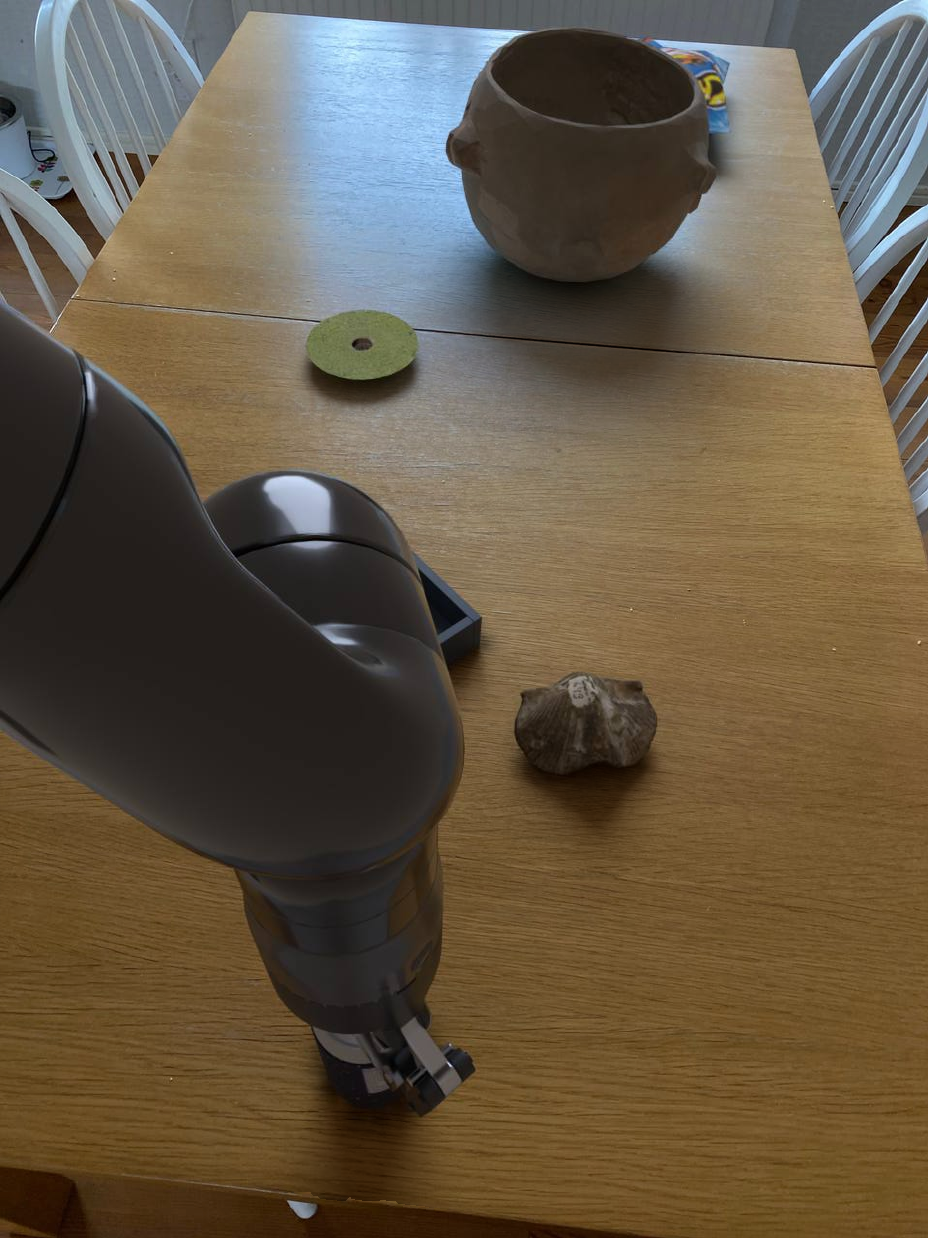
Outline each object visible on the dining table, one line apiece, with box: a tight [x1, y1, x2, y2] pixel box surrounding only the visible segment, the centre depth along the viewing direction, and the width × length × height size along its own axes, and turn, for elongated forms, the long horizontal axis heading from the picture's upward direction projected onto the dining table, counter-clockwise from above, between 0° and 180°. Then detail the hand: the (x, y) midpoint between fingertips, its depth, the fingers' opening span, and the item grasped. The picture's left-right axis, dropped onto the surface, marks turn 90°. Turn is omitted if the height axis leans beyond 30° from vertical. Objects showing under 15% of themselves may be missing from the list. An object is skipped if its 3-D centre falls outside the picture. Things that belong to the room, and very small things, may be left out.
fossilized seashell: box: [513, 671, 658, 776], centre depth 69 cm, size 8×7×10 cm
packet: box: [637, 35, 731, 135], centre depth 128 cm, size 17×24×8 cm
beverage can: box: [310, 1025, 405, 1109], centre depth 52 cm, size 6×6×12 cm
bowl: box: [445, 26, 717, 283], centre depth 103 cm, size 27×29×20 cm
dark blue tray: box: [411, 549, 483, 667], centre depth 74 cm, size 20×14×4 cm
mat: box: [305, 309, 419, 381], centre depth 97 cm, size 11×11×2 cm
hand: (368, 1024), depth 51 cm, fingers closed on beverage can, 5 cm apart
